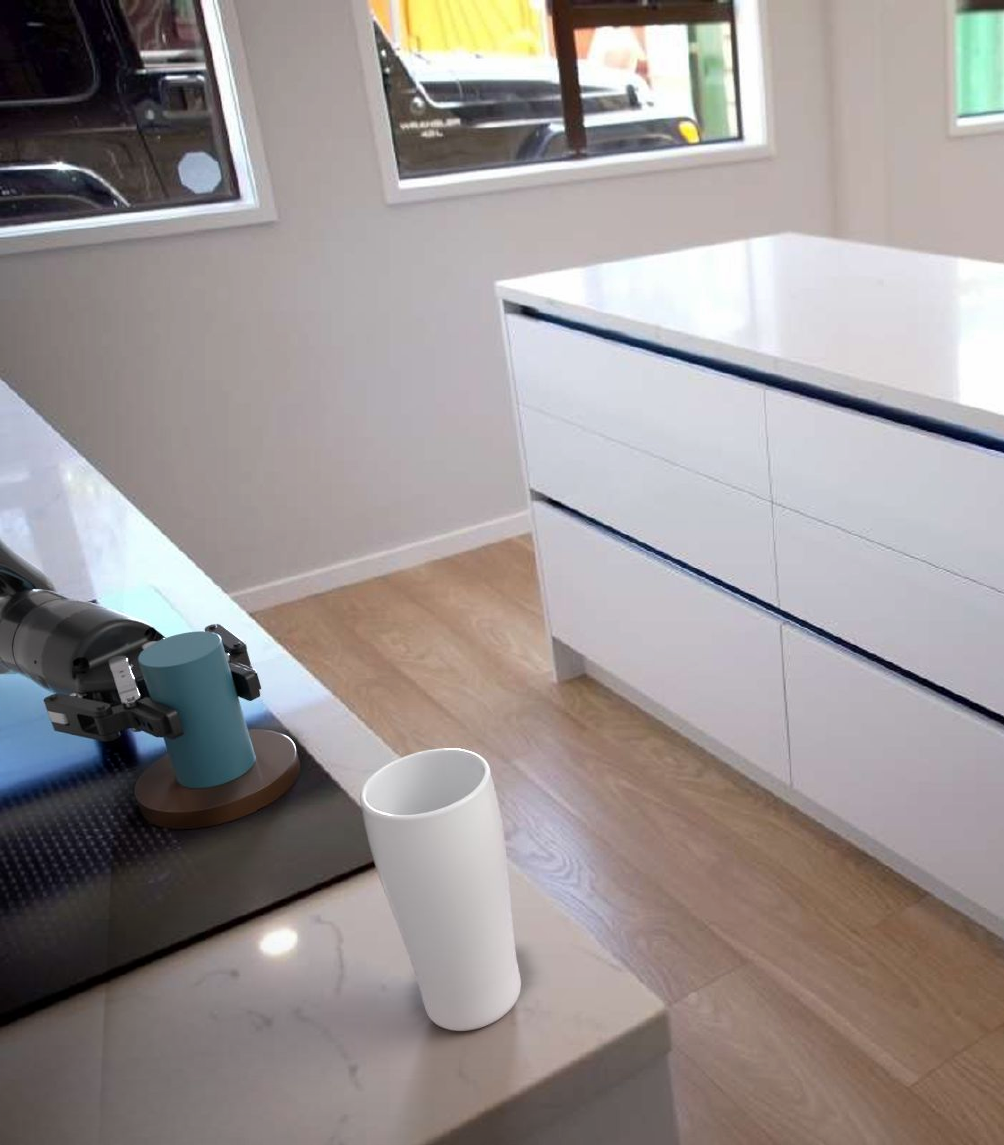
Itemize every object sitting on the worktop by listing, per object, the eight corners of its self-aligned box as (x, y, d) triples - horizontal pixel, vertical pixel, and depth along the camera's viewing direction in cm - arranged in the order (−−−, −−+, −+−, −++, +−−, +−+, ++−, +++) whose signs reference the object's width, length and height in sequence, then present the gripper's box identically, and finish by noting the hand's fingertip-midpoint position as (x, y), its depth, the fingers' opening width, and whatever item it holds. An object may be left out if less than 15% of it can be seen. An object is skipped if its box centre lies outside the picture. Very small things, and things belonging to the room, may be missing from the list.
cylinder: (177, 796, 93) (137, 674, 89) (176, 761, 98) (138, 643, 93) (258, 774, 95) (223, 654, 91) (253, 740, 100) (219, 624, 96)
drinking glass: (388, 1032, 73) (329, 808, 66) (458, 952, 78) (410, 739, 72) (493, 1056, 70) (442, 827, 64) (557, 972, 76) (516, 754, 70)
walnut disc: (139, 847, 90) (133, 829, 90) (140, 771, 99) (135, 755, 99) (307, 799, 95) (302, 782, 94) (293, 731, 104) (289, 715, 103)
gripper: (-24, 650, 94) (101, 705, 86) (164, 575, 105) (292, 618, 96) (10, 738, 98) (134, 801, 89) (189, 657, 108) (315, 705, 100)
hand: (215, 705), depth 93 cm, fingers closed on cylinder, 5 cm apart
